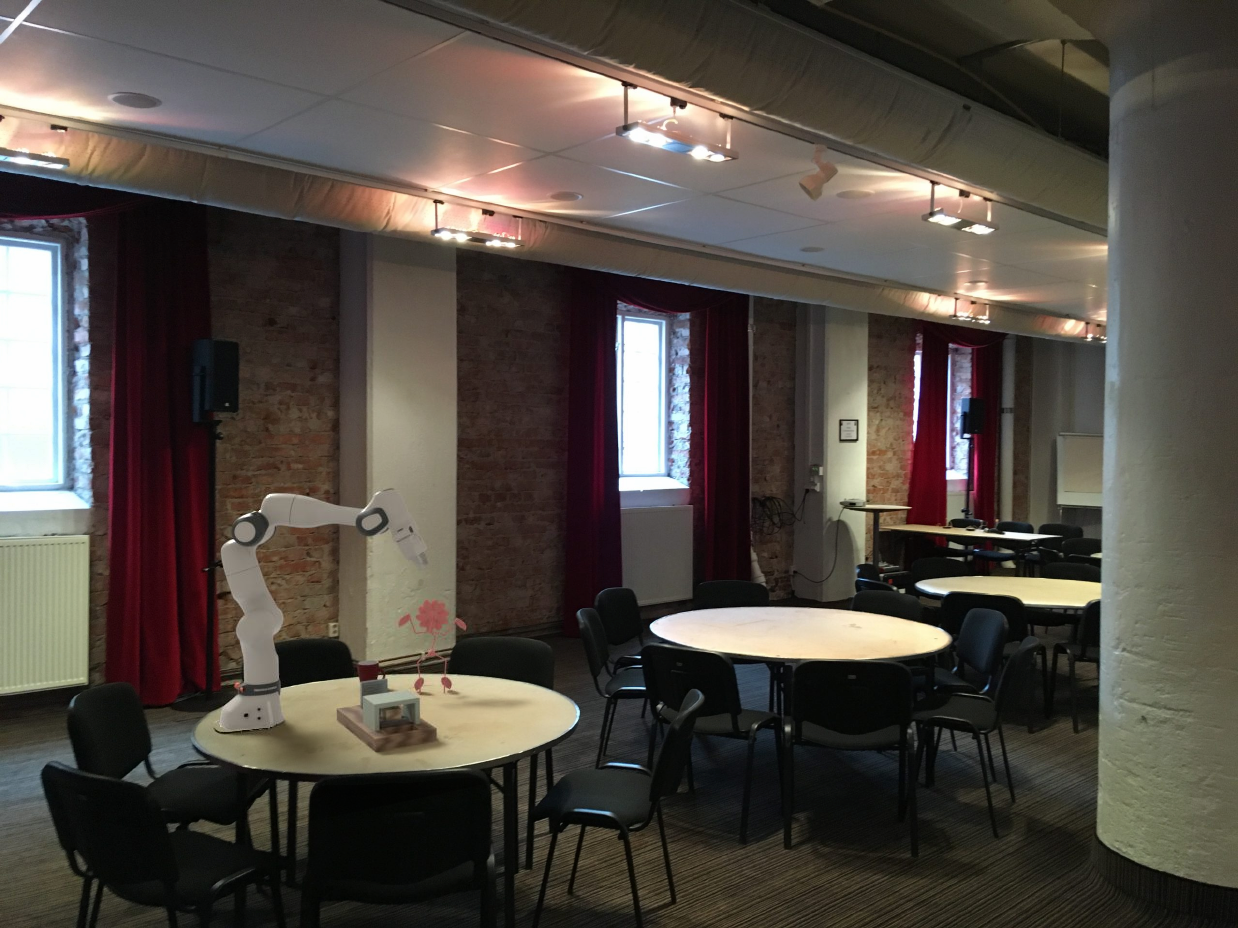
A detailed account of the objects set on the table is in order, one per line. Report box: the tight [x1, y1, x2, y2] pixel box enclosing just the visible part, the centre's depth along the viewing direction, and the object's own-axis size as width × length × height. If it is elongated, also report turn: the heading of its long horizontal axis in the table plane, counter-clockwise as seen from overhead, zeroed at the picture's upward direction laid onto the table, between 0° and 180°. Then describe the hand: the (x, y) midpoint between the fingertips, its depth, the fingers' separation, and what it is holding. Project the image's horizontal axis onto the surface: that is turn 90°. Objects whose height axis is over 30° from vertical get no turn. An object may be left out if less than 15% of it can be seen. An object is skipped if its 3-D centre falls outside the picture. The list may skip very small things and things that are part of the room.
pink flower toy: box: [398, 599, 467, 695], centre depth 372 cm, size 15×26×35 cm, turn 96°
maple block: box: [381, 706, 401, 721], centre depth 314 cm, size 5×5×5 cm
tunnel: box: [363, 689, 421, 731], centre depth 314 cm, size 15×12×8 cm
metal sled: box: [359, 677, 410, 728], centre depth 320 cm, size 9×22×10 cm, turn 32°
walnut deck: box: [336, 704, 438, 753], centre depth 320 cm, size 20×41×4 cm, turn 32°
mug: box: [357, 659, 387, 683], centre depth 375 cm, size 11×8×10 cm
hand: (424, 566), depth 332 cm, fingers open, 8 cm apart
